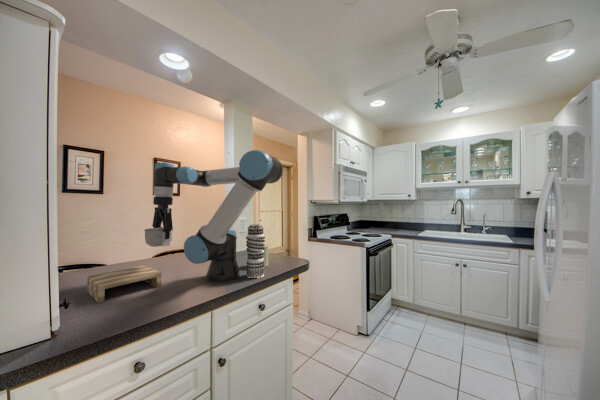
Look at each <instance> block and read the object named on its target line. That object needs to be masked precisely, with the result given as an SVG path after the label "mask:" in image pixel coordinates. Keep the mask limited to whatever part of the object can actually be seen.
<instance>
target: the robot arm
mask: <svg viewBox="0 0 600 400" xmlns="http://www.w3.org/2000/svg"><path fill="white" fill-rule="evenodd" d="M283 168H284V167H283V165H282V163H281V161H280V160H279V159H278V158H276V157H274V156H272V155H270V154H269V153H267V152H266V151H263V150H260V149H259V150H258V149H253V150H252V149H251V150H249V151H246V152H245V153H244V154H243V155H242V156H241V158H240V159H239V164H238V167H237V166H236V167H225V168H216V169H209V170H198V169H195V168H193V167H191V166H175V165H174V164H173V163H172V162H164V161H157V162H156V163H155V165H154V170H153V171H154V174H153V175H154V180H153V181H154V182H153V188H152V191H153V201H152V204H153V205H155V206H156V207H154V213H153V218H152V219H153V220H152V226H151V228H161V227H163V228H164V230H163V231H162V232H163V243H162V246H161V247H162V248H163V247H170V246H171V245H170V244H171V242H170V231H171V230H172V231H174V227H173V219H172V208H171V207H170V208H169V206H172V205H173V196H174V184H178V185H180V184H181V185H188V186H189V185H190V186H199V187H204V188H205V187H206V188H207V187H208V188H209V187H211V186H218V185H229V184H234V185H233V186H232V188H231V189H230V191H229V192H228V193H227V195H226V197H225V198H224V200H223V201H222V202H221V204H220V205H219V207H218V208H217V210H216V211H215V213H214V214H213V216H212V217H211V219H210V220H209V221H208V223H207V224H205V225H202V226H200V228H199V229H198V231H197V232H196V234H195V235H191V236H188V237H187V238H186V239H185V241H184V244H183V251H184V252H183V253H184V255H185V257H186V259H187V260H188V261H189V262H191V263H192V264H196V265H198V264H205V263H206V262H209V261H210V262H209V266H208V269H207V272H206V279H207V281H210V282H228V281H231V280H235V279H237V278H239V277H240V273H241V271H240V267H239V265H238V261H237V231H236V230H235V229H231V228H232V227H233V225H234V224H235V222H236V221H237V220H238V218H239V217H240V215H241V214H242V212H244V210H245V209H246V207H247V205H248V204H249V202H250V201H252V199H253V197H254V195H255V194H256V193H257V192H262V191H263V190H264V188H265V187H266V185H267V184H275V183H277V182H278V181H280V179H281V178H282V176H283V173H284V169H283Z"/></svg>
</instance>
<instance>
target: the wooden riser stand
mask: <svg viewBox="0 0 600 400" xmlns="http://www.w3.org/2000/svg"><path fill="white" fill-rule="evenodd" d="M86 281H87V285H86V286H87V288H86V291H87V293H88V294H89V295H90V296H91V297H92V298H93V299H94V300H95V301H96V303H98V304H101V303H104V302H105V293H106V292H105V291H106V289H112V288H115V287H120V286H124V285H129V284H132V283H138V282H142V281H144V282H145V283H147V284H149V285H151V286H153V287H154V288H156V289H158V288H161V287H162V272H161V271H159V270H157V269H154V268H153V267H150V266H147V265H141V266H135V267H129V268H124V269H119V270H114V271H108V272H103V273H98V274H93V275H88V276H87V280H86Z"/></svg>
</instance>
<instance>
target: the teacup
mask: <svg viewBox="0 0 600 400" xmlns="http://www.w3.org/2000/svg"><path fill="white" fill-rule="evenodd" d="M163 230H164V228H163V226H161V228H154V227H151V228H145V229H144V240H145V243H146V245H148V246H149V247H155V248H156V247H163V246H162V243H163V232H162V231H163ZM172 240H173V230H171V231H170V243H171V242H172Z"/></svg>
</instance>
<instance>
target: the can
mask: <svg viewBox="0 0 600 400" xmlns="http://www.w3.org/2000/svg"><path fill="white" fill-rule="evenodd" d="M263 247H264V248H265V249H263V250H264V252H263V258H264V260H263V261H264V263H263V264H264V266H263V267H265V266H268V265H269V245H268V244H265V246H263ZM268 267H269V266H268ZM265 268H266V267H265Z"/></svg>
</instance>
